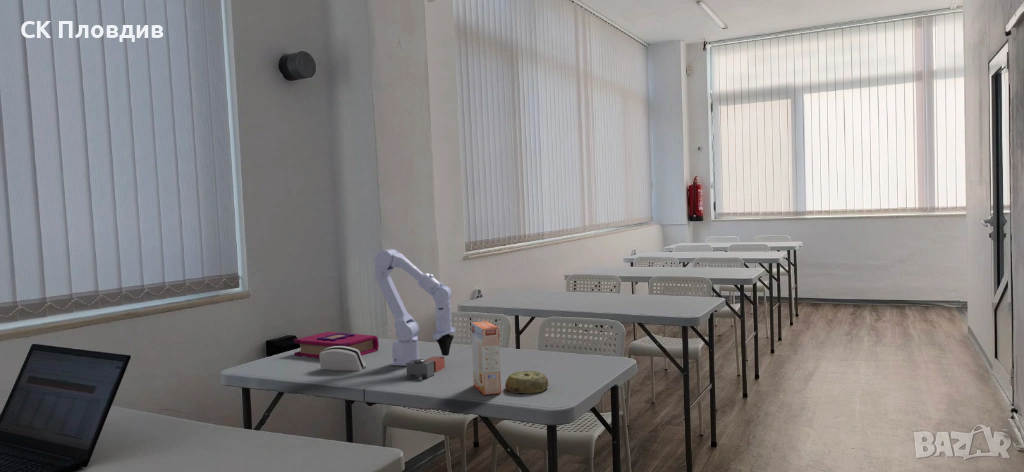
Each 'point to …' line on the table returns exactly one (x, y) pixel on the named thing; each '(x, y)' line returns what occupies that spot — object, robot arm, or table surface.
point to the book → (336, 343)
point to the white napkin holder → (341, 359)
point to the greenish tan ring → (526, 382)
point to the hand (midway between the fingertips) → (445, 355)
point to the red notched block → (437, 363)
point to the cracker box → (486, 357)
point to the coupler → (419, 369)
